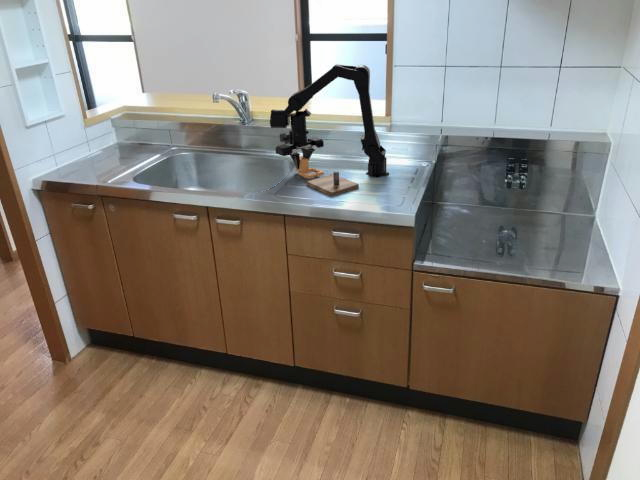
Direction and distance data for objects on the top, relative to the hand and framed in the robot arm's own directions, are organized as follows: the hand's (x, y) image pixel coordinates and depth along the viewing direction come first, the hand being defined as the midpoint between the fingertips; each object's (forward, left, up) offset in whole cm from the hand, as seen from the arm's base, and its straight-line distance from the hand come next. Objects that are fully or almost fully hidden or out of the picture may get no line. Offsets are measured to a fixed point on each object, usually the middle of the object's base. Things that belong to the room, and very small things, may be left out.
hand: (301, 168), depth 199 cm
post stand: (0, +20, -2) cm, 20 cm away
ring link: (0, +4, -1) cm, 4 cm away
